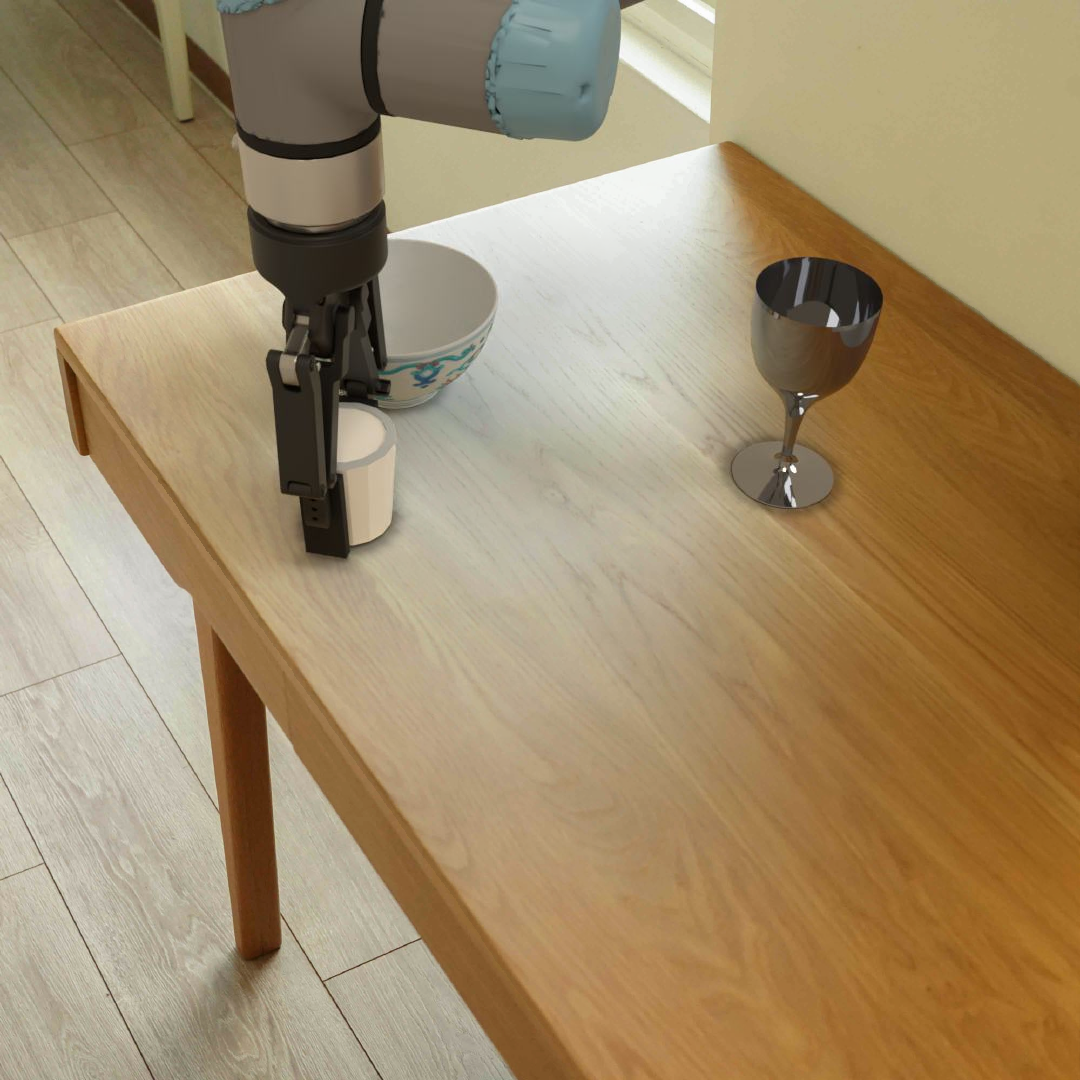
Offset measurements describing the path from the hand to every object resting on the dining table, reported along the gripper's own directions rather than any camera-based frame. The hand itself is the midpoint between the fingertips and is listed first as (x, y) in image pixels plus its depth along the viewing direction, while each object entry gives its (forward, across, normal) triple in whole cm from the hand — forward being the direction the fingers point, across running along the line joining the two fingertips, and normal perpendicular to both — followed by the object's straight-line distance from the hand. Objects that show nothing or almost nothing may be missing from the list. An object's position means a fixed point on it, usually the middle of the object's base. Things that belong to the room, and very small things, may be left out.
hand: (345, 512), depth 89 cm
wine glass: (+1, -11, +28) cm, 30 cm away
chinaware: (+1, -15, -1) cm, 15 cm away
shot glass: (0, 0, 0) cm, 1 cm away
